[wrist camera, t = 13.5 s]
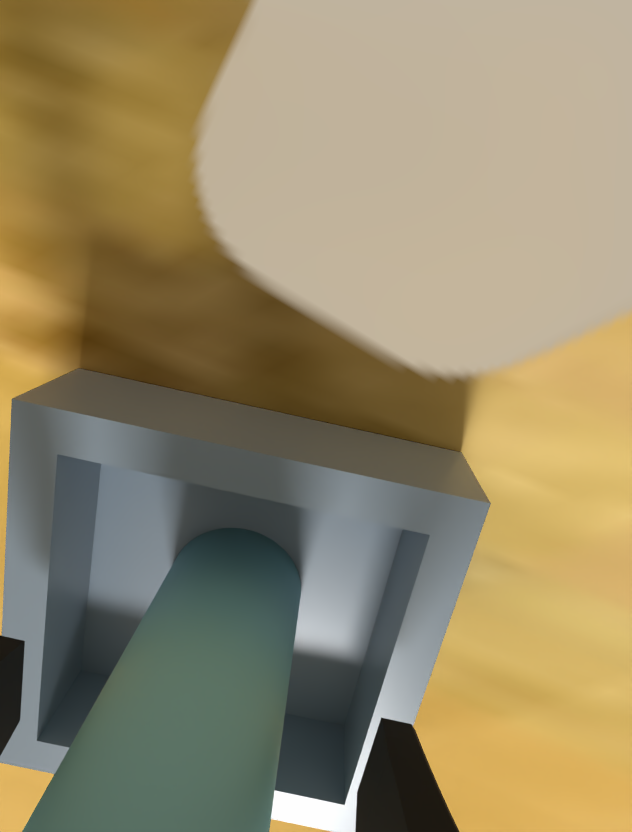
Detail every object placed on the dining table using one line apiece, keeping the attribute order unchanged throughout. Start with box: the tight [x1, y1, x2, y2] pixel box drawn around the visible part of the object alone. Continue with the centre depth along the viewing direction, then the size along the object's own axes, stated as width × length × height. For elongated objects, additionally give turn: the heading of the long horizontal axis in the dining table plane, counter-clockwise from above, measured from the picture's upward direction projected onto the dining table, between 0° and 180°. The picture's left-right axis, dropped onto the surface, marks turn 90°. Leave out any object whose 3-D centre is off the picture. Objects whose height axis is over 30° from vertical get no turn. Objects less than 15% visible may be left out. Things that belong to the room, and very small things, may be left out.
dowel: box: [22, 528, 301, 832], centre depth 11 cm, size 4×4×8 cm
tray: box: [0, 368, 491, 832], centre depth 14 cm, size 10×10×3 cm
